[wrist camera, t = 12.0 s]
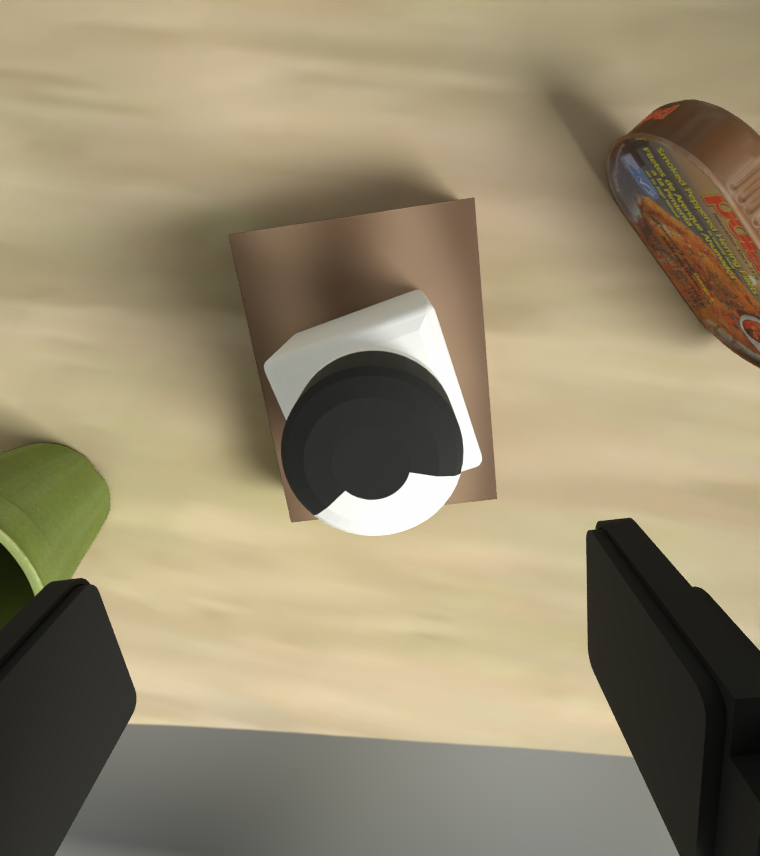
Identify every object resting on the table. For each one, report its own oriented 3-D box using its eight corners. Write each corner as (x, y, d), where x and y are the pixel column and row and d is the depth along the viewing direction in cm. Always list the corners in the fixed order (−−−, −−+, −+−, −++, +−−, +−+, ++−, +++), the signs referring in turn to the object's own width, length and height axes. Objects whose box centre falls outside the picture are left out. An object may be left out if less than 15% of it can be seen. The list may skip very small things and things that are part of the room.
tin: (582, 158, 28) (658, 124, 20) (633, 112, 28) (731, 59, 20) (729, 365, 32) (843, 406, 24) (778, 329, 31) (911, 359, 23)
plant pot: (8, 577, 38) (-143, 709, 27) (-60, 420, 34) (-267, 501, 23) (169, 559, 37) (80, 687, 26) (119, 396, 33) (-11, 468, 22)
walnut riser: (463, 203, 29) (474, 197, 25) (485, 470, 34) (497, 498, 30) (249, 235, 30) (228, 234, 26) (302, 492, 35) (291, 522, 31)
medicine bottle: (290, 334, 28) (220, 398, 16) (421, 286, 27) (445, 318, 15) (340, 455, 30) (309, 585, 18) (463, 414, 29) (510, 525, 17)
